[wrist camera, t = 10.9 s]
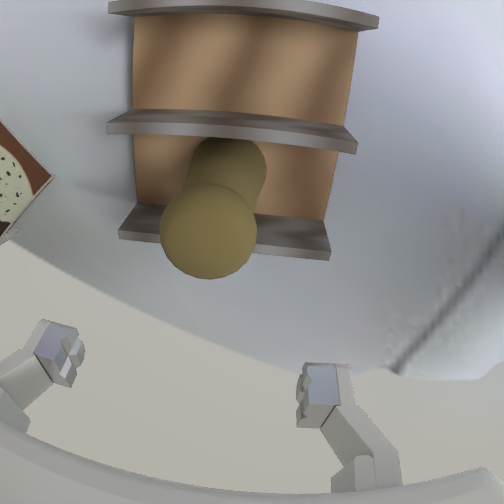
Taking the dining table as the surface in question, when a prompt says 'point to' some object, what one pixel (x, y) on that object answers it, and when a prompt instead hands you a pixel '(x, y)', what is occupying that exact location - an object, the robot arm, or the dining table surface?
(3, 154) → the food container
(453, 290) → the dining table surface
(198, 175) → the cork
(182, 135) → the slot rack
